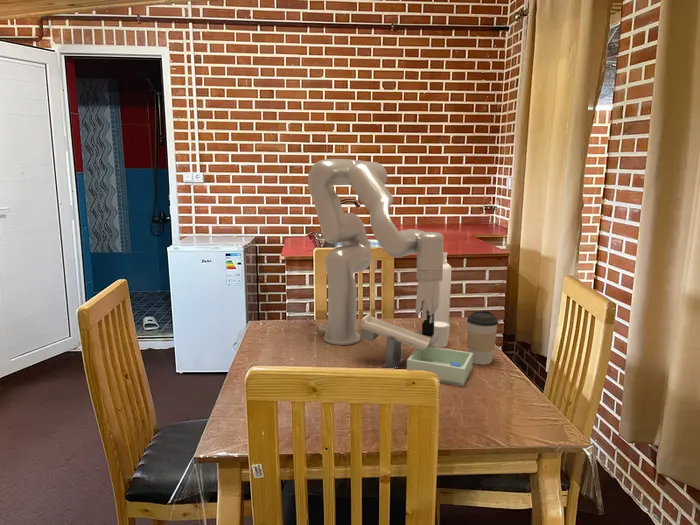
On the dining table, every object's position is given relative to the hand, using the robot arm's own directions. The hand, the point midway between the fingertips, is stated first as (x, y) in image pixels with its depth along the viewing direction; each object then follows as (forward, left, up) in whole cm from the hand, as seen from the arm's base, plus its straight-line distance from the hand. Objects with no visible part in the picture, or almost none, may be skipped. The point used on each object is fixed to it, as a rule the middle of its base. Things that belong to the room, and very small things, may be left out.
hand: (427, 334), depth 154 cm
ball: (+10, -6, -6) cm, 13 cm away
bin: (+5, -6, -9) cm, 12 cm away
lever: (-9, -3, -3) cm, 10 cm away
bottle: (-5, +31, -9) cm, 33 cm away
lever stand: (-9, -6, -9) cm, 14 cm away
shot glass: (-1, +17, -9) cm, 19 cm away
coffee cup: (+14, +8, -9) cm, 19 cm away
